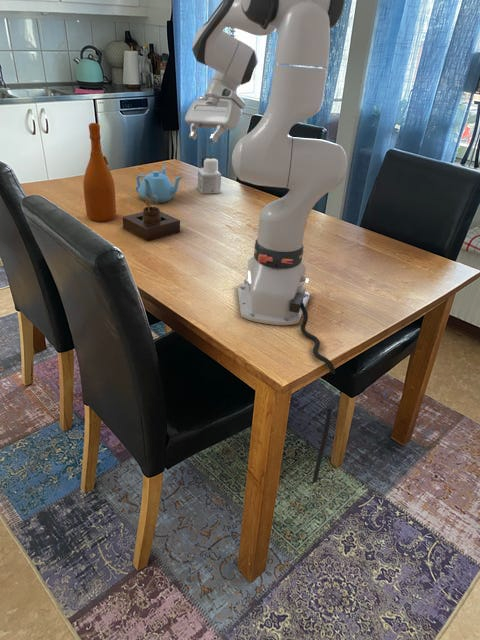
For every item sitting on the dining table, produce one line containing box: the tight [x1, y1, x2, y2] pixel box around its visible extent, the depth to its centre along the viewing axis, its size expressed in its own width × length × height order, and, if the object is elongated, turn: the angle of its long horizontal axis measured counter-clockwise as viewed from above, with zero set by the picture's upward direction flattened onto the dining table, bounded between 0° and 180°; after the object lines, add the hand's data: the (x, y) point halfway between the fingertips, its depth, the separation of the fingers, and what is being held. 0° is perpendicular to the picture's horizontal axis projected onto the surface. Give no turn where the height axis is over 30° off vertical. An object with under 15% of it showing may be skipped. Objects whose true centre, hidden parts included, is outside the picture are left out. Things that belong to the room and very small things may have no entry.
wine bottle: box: [82, 122, 117, 222], centre depth 157 cm, size 10×10×30 cm
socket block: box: [122, 210, 181, 242], centre depth 157 cm, size 13×13×4 cm
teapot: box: [135, 165, 183, 204], centre depth 183 cm, size 15×15×10 cm
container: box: [197, 156, 222, 194], centre depth 195 cm, size 8×8×13 cm
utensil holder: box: [142, 195, 161, 224], centre depth 155 cm, size 6×6×12 cm
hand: (202, 139), depth 147 cm, fingers open, 8 cm apart
